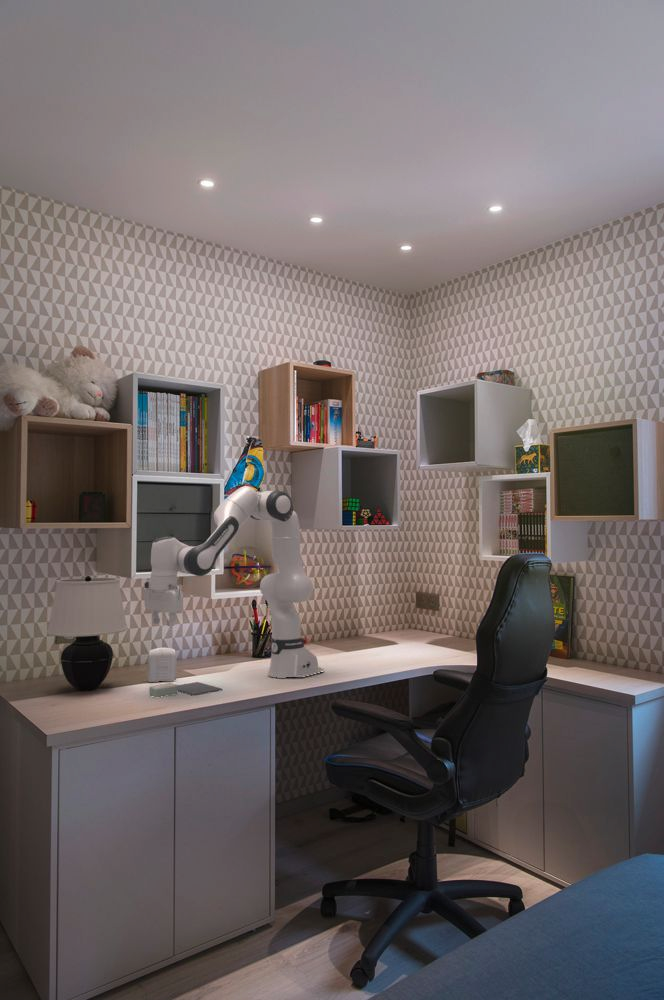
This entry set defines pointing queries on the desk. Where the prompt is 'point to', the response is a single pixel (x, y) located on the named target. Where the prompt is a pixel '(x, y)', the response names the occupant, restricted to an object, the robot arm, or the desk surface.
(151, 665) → the white upright rounded block
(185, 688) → the desk mat
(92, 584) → the table lamp
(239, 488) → the robot arm
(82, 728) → the desk surface
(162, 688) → the card box
